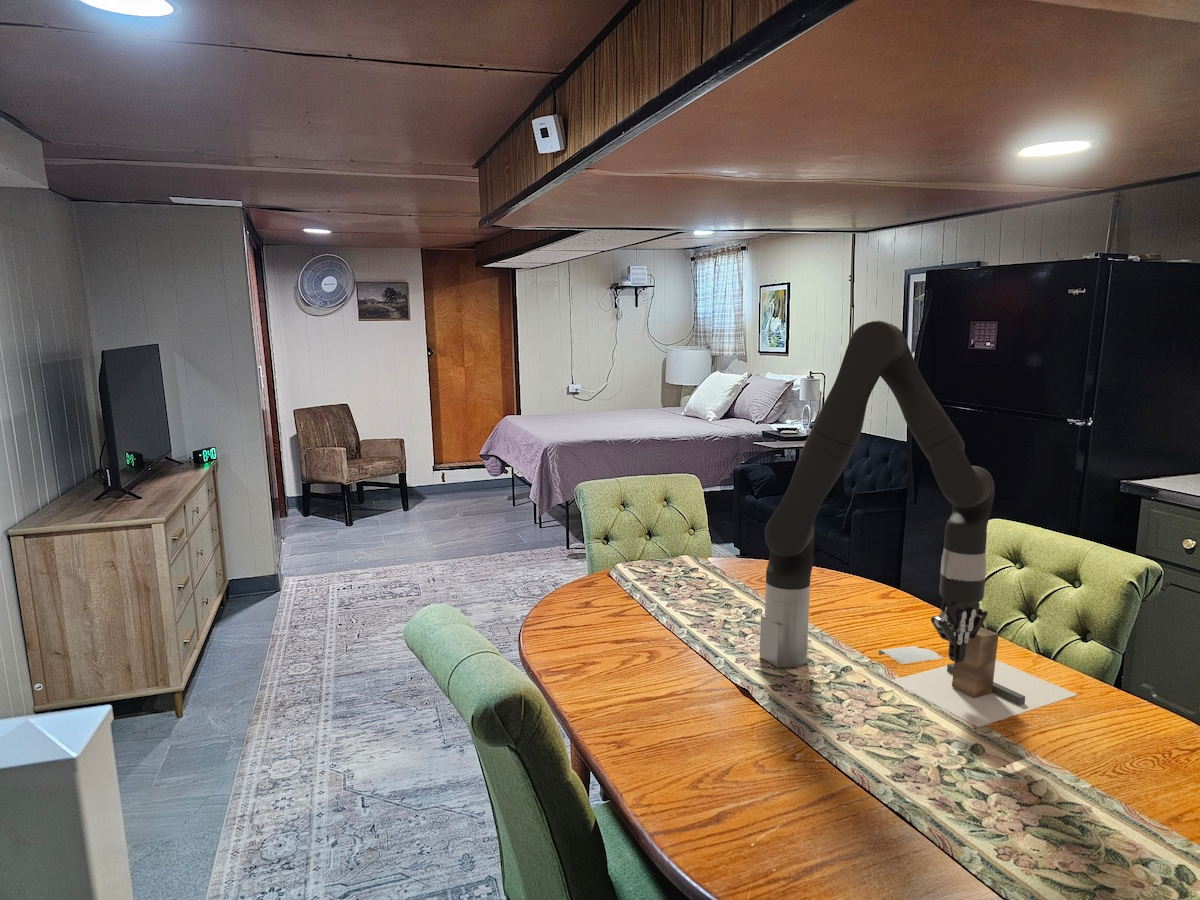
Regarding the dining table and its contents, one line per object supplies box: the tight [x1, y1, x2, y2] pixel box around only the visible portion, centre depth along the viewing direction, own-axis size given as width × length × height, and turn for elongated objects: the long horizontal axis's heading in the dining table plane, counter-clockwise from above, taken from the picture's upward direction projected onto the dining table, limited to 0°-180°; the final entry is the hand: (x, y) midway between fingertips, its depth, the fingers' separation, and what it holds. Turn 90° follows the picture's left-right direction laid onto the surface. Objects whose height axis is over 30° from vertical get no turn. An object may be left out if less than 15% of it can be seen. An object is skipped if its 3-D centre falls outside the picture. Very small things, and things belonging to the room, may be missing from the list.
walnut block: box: [952, 626, 999, 698], centre depth 144 cm, size 5×5×12 cm
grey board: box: [890, 659, 1078, 728], centre depth 146 cm, size 28×20×2 cm
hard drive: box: [878, 645, 943, 665], centre depth 162 cm, size 2×8×12 cm
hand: (956, 660), depth 141 cm, fingers closed
